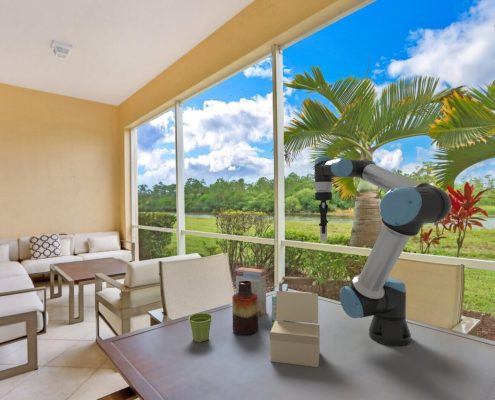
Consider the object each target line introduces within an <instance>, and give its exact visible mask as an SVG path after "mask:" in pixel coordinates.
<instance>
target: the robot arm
mask: <svg viewBox="0 0 495 400" xmlns="http://www.w3.org/2000/svg"><path fill="white" fill-rule="evenodd" d="M313 165H314V184H313V187H314V191H315V192H314V200H315V201H319V202H320V203H319V205H318V210H319V214H320V216H319V217H320V222H319V223H318V227H319V228H320V229H319V230H320V234H319V237H320V242H328V224H329V220H328V219H327V214H328V211H329V210H328V209H329V204H328V203H327V201H333V192H332V191H333V178H360V179H362V180H363V181H366V182H367V183H369V184H371V185H373V186H375V187H378V189H381V190H384V191H386V193H385V194H384V195H383V196H382V198H381V200H380V203H379V209H380V211H379V215H380V218H381V219H380V220H381V223H382V228H381V230H380V232H379V234H378V236H377V238H376V240H375V242H374V245H373V247H372V248H371V251H370V253H369V254H368V257H367V259H366V261H365V264H364V266H363V267H362V270H361V272H360V273H359V274H357V275H354V277H353V279H351V280H352V281H351V282H350V285H345V286H343V287H342V288H340V291H339V301H340V305H341V308H342V309H343V311H344V312H345V314H346V315H347V316H348V317H350V318H352V319H362V318H368V317H371V316H372V320H371V322H370V324H369V325H370V326H369V328H368V335H369V338H371V340H373V341H375V342H377V343H379V344H382V345H387V346H394V347H402V346H403V347H404V346H407V345H409V344H410V343H412V334H411V331H410V329H409V326H408V322H407V310H406V309H407V306H406V305H407V303H406V302H407V290H406V284H405V283H404V282H403V281H401V280H399V279H395V278H391V277H389V276H390V274H391V273H392V271H393V269H394V267H395V265H396V264H397V262H398V260H399V258H400V256H401V255H402V252H403V250H404V248H405V247H406V245H407V243H408V241H409V240H410V238H413V237H416V236H418V234H419V233H420V230H421V229H422V227H423V225H424V224H426V225H427V224H434V223H438V222H441V221H443V220H444V219H445V218H447V216H448V215H449V213H450V212H451V208H452V201H451V197H450V196H449V194H448V193H447V192H446V191H445V190H443V189H442V188H439V187H437V186H435V185H432V184H431V183H427V182H417V181H415V180H412V179H410V178H407V177H405V176H402V175H400V174H397V173H396V172H393V171H390V170H388V169H386V168H384V167H381V166H379V165H377V163H376V162H375V161H373V160H370V159H369V160H368V159H349V158H345V157H343V158H341V157H338V158H335V159H332V157H331V156H318V157H315V159H314V164H313Z"/></svg>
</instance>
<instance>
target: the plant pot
mask: <svg viewBox="0 0 495 400" xmlns="http://www.w3.org/2000/svg"><path fill="white" fill-rule="evenodd" d="M213 317H214V316H213V315H212V314H210V313H208V312H199V313H193V314H192V315H190V316H188V321H189V324H190V327H191V332H192V333H191V334H192V339H193V341H195V342H196V343H202V342H206V341H208V340H209V337H210V331H211V322H212V320H213Z"/></svg>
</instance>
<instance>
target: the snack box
mask: <svg viewBox="0 0 495 400" xmlns="http://www.w3.org/2000/svg"><path fill="white" fill-rule="evenodd" d="M288 288H289V284H283V285H282V291H289V290H288ZM277 290H279V283H277V284H276V287H275V289H274V292H273V294H272V297H271V328H272V327H273V325H274V323H275V321H283V322H287V321H285V320H276V291H277Z"/></svg>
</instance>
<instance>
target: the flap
mask: <svg viewBox="0 0 495 400" xmlns="http://www.w3.org/2000/svg"><path fill="white" fill-rule="evenodd" d="M278 284H279V290H277V291H276V320H285V321H286V322H295V323H305V324H316V325H319V293H318V292H316V286H317V278H314V277H299V276H298V277H297V276H282V277H281V280H280V281H279V283H278ZM283 284H288V285H297V286H299V285H300V286H311V292H309V291H307V292H306V291H295V290H294V291H293V290H288V291H282V285H283Z"/></svg>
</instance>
